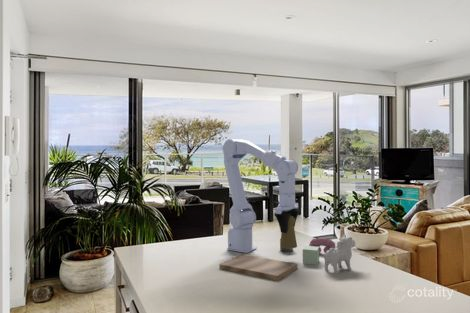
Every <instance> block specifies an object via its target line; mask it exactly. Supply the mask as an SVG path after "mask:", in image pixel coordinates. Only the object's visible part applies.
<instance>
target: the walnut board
mask: <svg viewBox="0 0 470 313" xmlns="http://www.w3.org/2000/svg"><path fill="white" fill-rule="evenodd" d="M218 269H219V270H224V271H229V272H234V273H239V274H243V275H249V276H252V277H253V276H254V277H258V278H262V279H266V280H267V279H268V280H272V281H276V282H277V281H278V282H279V281H280V280H281V279H283V278H284V277H286V276H288V275H289V274H291V273H292V272H294V271H296V270H297V269H298V263H295V262H290V261H285V260H284V261H283V260H278V259H273V258H272V259H271V258H267V257H261V256H260V257H259V256H254V255H249V254H245V253H244V254H243V253H242V254H240V255H237V256H234V257H232V258H230V259H229V260H225V261H223V262H222V263H219V268H218Z"/></svg>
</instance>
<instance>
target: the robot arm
mask: <svg viewBox="0 0 470 313" xmlns="http://www.w3.org/2000/svg"><path fill="white" fill-rule="evenodd" d="M222 153H223V164H224V169H225V173H226V177H227V182H228V186H229V191H230V192H229V193H230V194H231V195H230V196H231V201H232V206H231V208H230V209H229V215H230V216H229V222H230V225H231V226H230V227H229V228H228V231H227V247H226V250H227V251H233V252H238V253H239V252H240V253H244V254H247V253H249V252H252V251H254V250H256V249H257V247H256V246H253V227H254V224H255V223H256V220H257V215H256V212H255V211H254V209H253V206H252V205H251V204H250V202H248V201H247V197H246V192H245V189H244V188H245V187H244V184H243V179H242V175H241V172H240V166H239V164H240V162H241V161H242V160H243V159H244V158H245V156H246V155H248V154H249V155H250V156H253V157H256V158H258V159H260V160H262V165H264V166H266V167H268V168H269V169H271V170H273V171H275V173H276V174H277V180H278V195H279V196H278V205H277V207H275V208H274V209H275V211H274V217H275V218H276V220H277V223H278V227H279V229H280V233H281V232H282V233H287V230H288V222H289V218H290V216H293V217H294V218H295V223H294V228H295V227H296V221H297V218H298V216H299V214H300V209H299V203H298V202H296V174H297V172H298V170H299V165H298V163H297V161H296V160H294V159H292V158H289V159H287V157H286V156H285V155H280V154H278V153H277V150H268V151H266V150H264V149H263V148H261V147H259V146H257V145H256V144H254V143H252V141H249V140H248V139H245V138H244V139H232V138H228V139H227V140H225V142H224V143H223V145H222Z"/></svg>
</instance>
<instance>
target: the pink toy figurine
mask: <svg viewBox="0 0 470 313" xmlns="http://www.w3.org/2000/svg"><path fill="white" fill-rule="evenodd" d="M308 246H315V247H319V254H320V253H321V252H322V248H321V246H322V247H323V253H324V254H325V253H326V251H328V250H329V249H331V248H336V242H334V240H332V239H330V238H327V237H317V238H316V237H315V238H312V239H311V240H310V242H309V244H308Z"/></svg>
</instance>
